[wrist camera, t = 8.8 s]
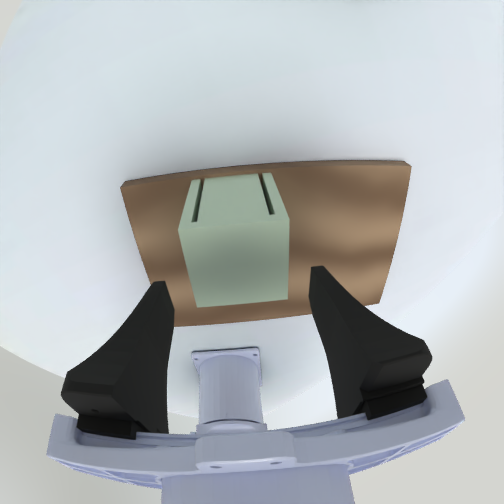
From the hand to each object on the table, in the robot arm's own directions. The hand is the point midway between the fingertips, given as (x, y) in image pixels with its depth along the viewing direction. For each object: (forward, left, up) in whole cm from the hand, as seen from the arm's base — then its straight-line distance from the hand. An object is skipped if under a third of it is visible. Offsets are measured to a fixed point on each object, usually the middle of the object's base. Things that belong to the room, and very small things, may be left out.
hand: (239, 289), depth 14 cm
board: (-4, -3, -9) cm, 11 cm away
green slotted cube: (0, 0, -8) cm, 8 cm away
